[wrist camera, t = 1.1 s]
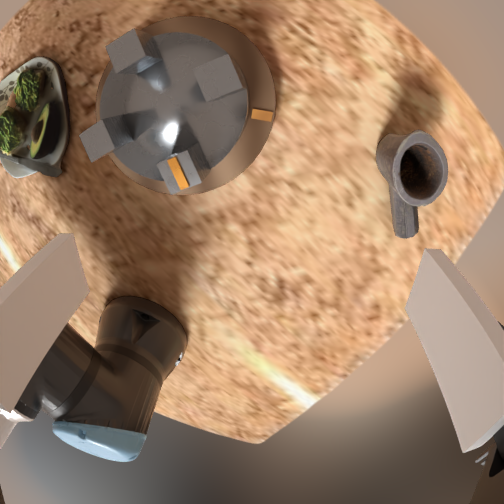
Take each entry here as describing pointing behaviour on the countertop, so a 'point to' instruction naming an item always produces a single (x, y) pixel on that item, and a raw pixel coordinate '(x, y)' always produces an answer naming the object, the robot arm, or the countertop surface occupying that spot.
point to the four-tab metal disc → (169, 107)
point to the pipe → (411, 176)
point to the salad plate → (34, 119)
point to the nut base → (258, 92)
